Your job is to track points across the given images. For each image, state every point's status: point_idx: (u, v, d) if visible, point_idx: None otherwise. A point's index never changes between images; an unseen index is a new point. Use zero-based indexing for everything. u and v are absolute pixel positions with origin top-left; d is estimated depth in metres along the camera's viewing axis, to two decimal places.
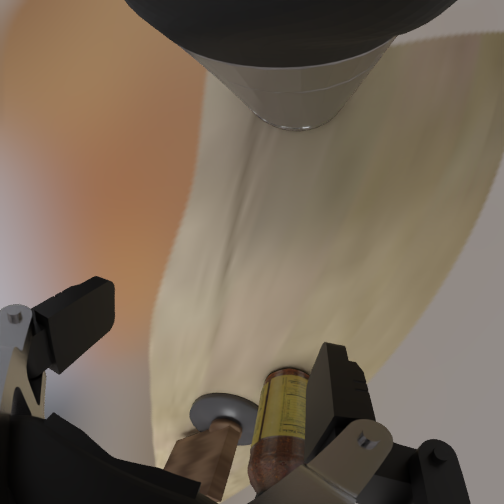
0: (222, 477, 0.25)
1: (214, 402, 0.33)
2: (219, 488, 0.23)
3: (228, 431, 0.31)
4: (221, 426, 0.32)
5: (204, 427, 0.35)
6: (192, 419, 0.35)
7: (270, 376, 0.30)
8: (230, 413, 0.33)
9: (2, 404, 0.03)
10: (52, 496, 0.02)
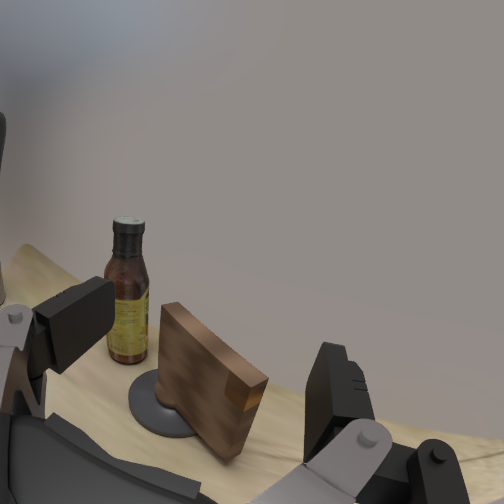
0: None
1: (133, 396, 0.29)
2: None
3: None
4: (159, 387, 0.30)
5: (182, 421, 0.27)
6: (166, 428, 0.26)
7: (110, 352, 0.35)
8: (151, 389, 0.31)
9: (2, 404, 0.03)
10: (52, 496, 0.02)
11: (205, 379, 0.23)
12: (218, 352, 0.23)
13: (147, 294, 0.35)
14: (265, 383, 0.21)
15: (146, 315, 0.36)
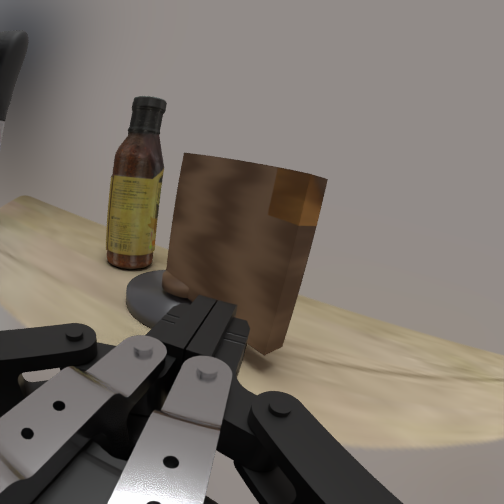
0: None
1: (133, 289, 0.25)
2: None
3: None
4: (168, 275, 0.25)
5: None
6: None
7: (108, 256, 0.31)
8: (157, 284, 0.27)
9: (60, 451, 0.03)
10: (52, 496, 0.02)
11: (240, 209, 0.19)
12: None
13: (161, 179, 0.31)
14: (323, 185, 0.17)
15: (157, 205, 0.31)
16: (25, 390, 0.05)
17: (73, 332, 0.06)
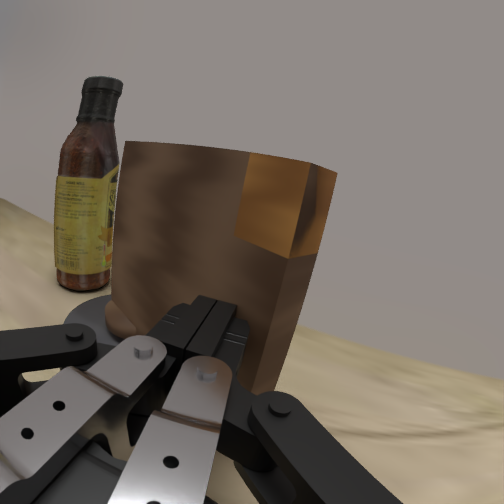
0: None
1: None
2: None
3: None
4: (112, 307, 0.18)
5: None
6: None
7: (57, 275, 0.23)
8: (103, 316, 0.19)
9: (60, 451, 0.03)
10: (52, 496, 0.02)
11: (192, 224, 0.12)
12: None
13: (114, 178, 0.23)
14: (331, 183, 0.09)
15: (110, 211, 0.24)
16: (25, 390, 0.05)
17: (73, 332, 0.06)
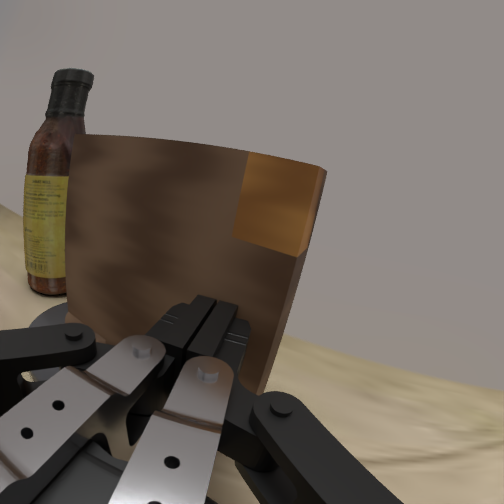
0: None
1: None
2: None
3: None
4: (72, 320, 0.15)
5: None
6: None
7: (28, 278, 0.20)
8: None
9: (59, 450, 0.03)
10: (52, 496, 0.02)
11: (175, 226, 0.11)
12: None
13: None
14: (323, 181, 0.10)
15: None
16: (24, 390, 0.05)
17: (72, 332, 0.06)
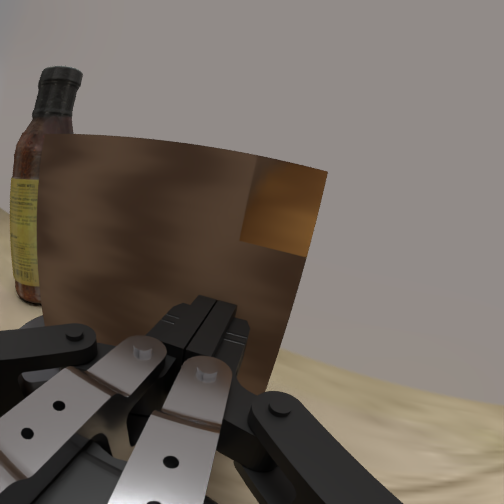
0: None
1: None
2: None
3: None
4: None
5: None
6: None
7: (15, 285, 0.19)
8: None
9: (60, 451, 0.03)
10: (52, 495, 0.02)
11: (175, 232, 0.10)
12: None
13: None
14: None
15: None
16: (25, 390, 0.05)
17: (73, 332, 0.06)
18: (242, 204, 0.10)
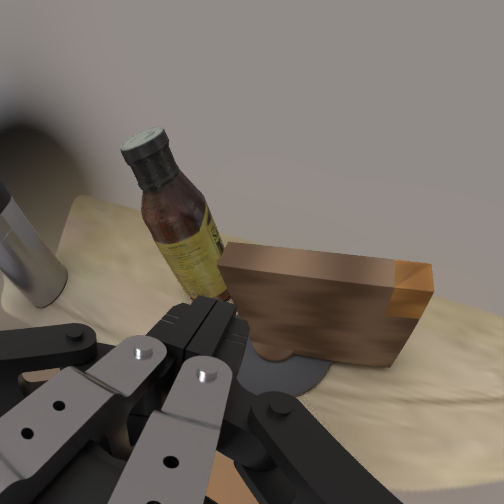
0: None
1: None
2: None
3: None
4: (261, 347, 0.25)
5: (292, 378, 0.24)
6: None
7: None
8: None
9: (60, 451, 0.03)
10: (53, 496, 0.02)
11: (348, 313, 0.17)
12: (359, 274, 0.15)
13: (208, 218, 0.26)
14: None
15: (217, 243, 0.28)
16: (25, 390, 0.05)
17: (73, 332, 0.06)
18: (386, 304, 0.15)
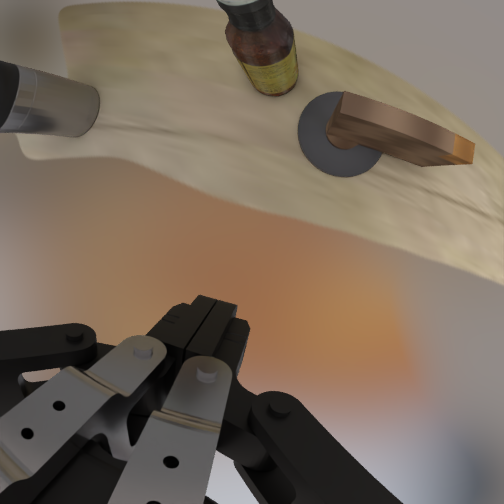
0: (337, 108, 0.23)
1: (304, 141, 0.32)
2: (340, 103, 0.21)
3: (327, 131, 0.29)
4: (335, 139, 0.30)
5: (356, 162, 0.32)
6: (344, 173, 0.33)
7: (257, 89, 0.32)
8: (319, 126, 0.32)
9: (60, 451, 0.03)
10: (52, 496, 0.02)
11: (416, 147, 0.22)
12: (434, 139, 0.19)
13: (294, 40, 0.21)
14: (472, 146, 0.19)
15: (295, 54, 0.24)
16: (25, 390, 0.05)
17: (73, 332, 0.06)
18: (442, 154, 0.20)
